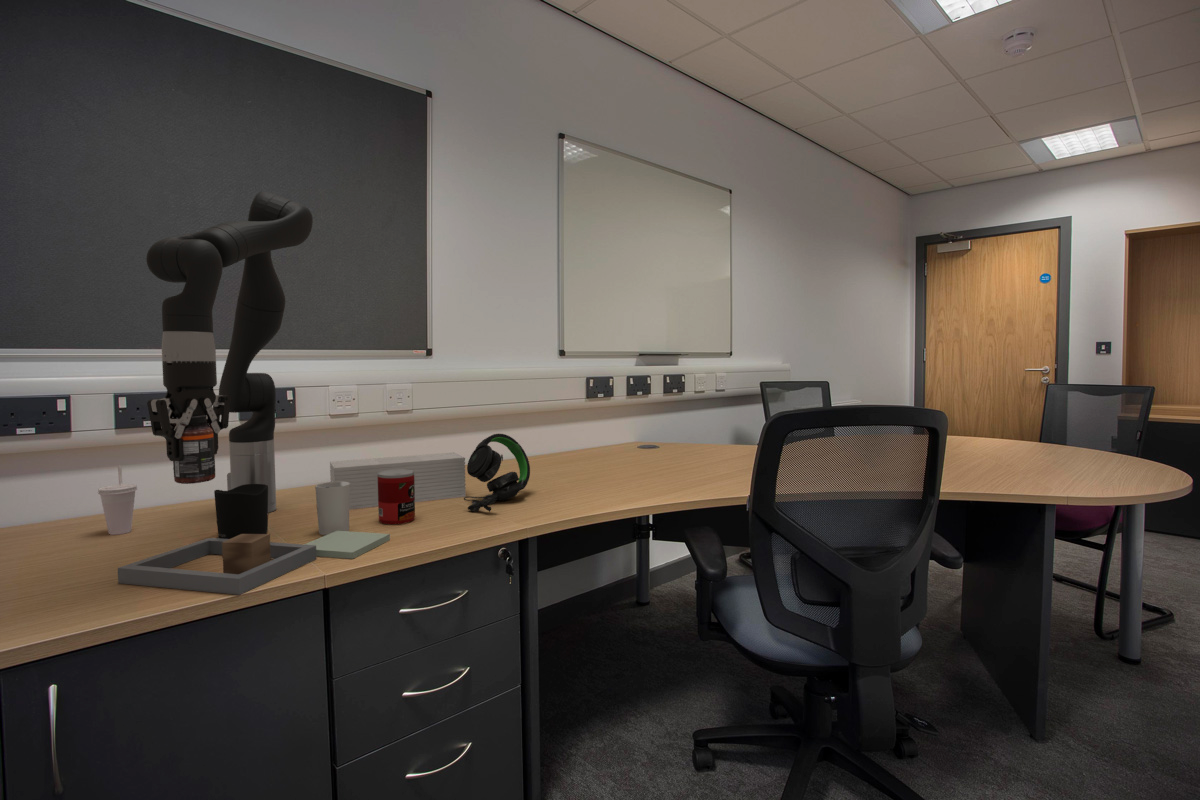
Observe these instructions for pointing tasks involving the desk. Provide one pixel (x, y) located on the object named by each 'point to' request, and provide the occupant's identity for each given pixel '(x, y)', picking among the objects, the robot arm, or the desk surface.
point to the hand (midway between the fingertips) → (193, 457)
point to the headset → (487, 465)
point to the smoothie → (118, 505)
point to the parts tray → (161, 574)
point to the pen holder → (242, 510)
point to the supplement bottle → (196, 453)
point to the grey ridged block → (431, 471)
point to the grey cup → (333, 506)
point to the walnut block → (245, 552)
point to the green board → (347, 543)
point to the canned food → (396, 496)
